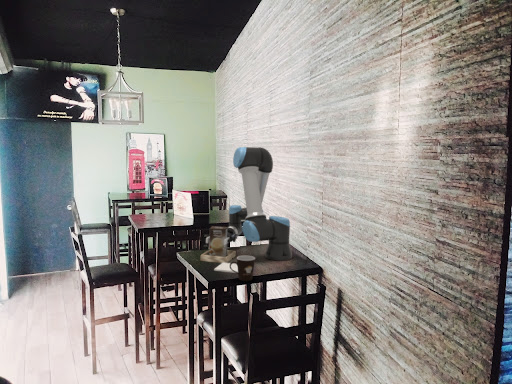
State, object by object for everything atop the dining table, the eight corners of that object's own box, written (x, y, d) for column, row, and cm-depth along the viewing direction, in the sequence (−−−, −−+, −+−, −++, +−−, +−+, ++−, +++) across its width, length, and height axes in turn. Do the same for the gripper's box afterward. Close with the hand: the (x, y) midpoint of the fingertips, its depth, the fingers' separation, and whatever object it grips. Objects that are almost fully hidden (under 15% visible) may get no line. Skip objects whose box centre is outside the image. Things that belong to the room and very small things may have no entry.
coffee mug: (254, 276, 184) (255, 255, 183) (254, 282, 176) (254, 260, 175) (230, 275, 185) (231, 255, 184) (229, 281, 176) (229, 260, 175)
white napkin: (248, 266, 199) (248, 265, 199) (240, 273, 188) (240, 271, 188) (222, 263, 203) (222, 262, 203) (214, 270, 192) (214, 268, 192)
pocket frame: (235, 256, 218) (235, 251, 218) (226, 263, 204) (226, 257, 204) (211, 253, 223) (211, 248, 222) (200, 260, 208) (200, 255, 208)
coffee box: (208, 256, 211) (209, 228, 209) (211, 253, 217) (211, 225, 215) (225, 257, 210) (225, 228, 208) (227, 254, 216) (227, 226, 214)
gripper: (247, 241, 227) (235, 250, 206) (212, 238, 233) (196, 246, 212) (247, 228, 226) (235, 236, 205) (212, 226, 232) (196, 233, 211)
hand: (215, 241), depth 208 cm, fingers closed on coffee box, 10 cm apart
